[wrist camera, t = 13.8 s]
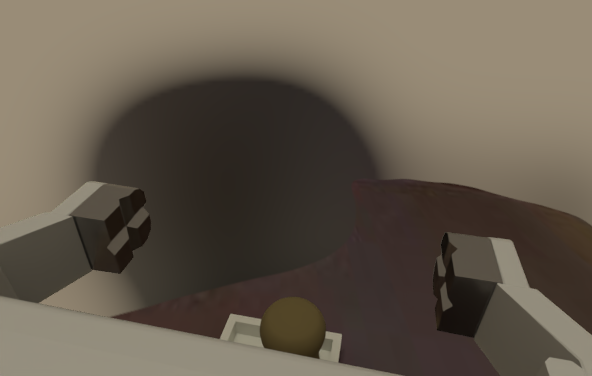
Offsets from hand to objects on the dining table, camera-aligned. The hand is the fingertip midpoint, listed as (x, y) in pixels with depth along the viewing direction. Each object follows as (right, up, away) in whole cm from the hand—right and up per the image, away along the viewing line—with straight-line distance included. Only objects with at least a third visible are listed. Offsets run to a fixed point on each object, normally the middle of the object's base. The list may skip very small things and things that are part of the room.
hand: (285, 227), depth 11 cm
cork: (0, -18, +26) cm, 32 cm away
